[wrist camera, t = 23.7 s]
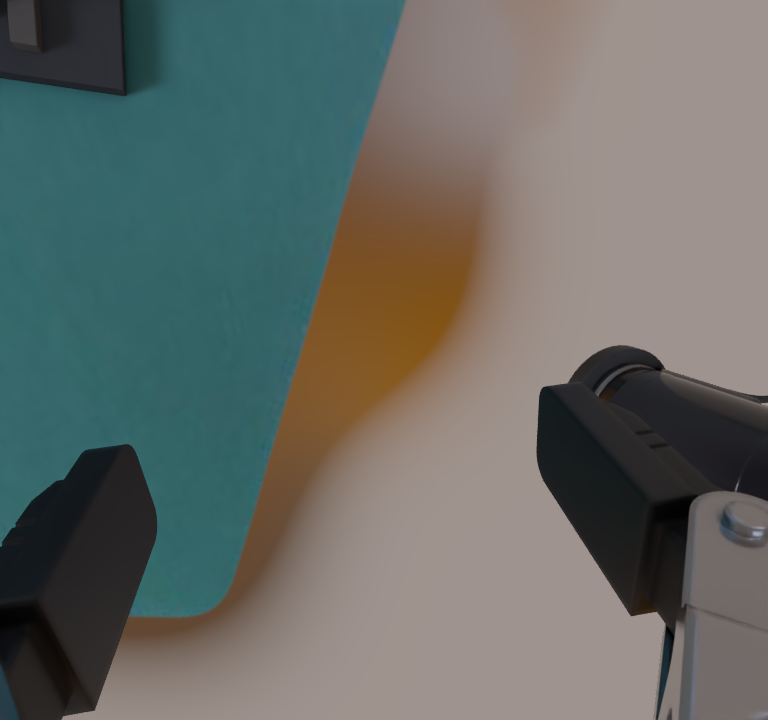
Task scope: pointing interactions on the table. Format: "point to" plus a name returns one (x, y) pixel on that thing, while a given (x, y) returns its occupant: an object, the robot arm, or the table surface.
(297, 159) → the table surface
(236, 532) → the table surface
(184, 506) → the table surface
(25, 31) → the base pad
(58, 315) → the table surface
